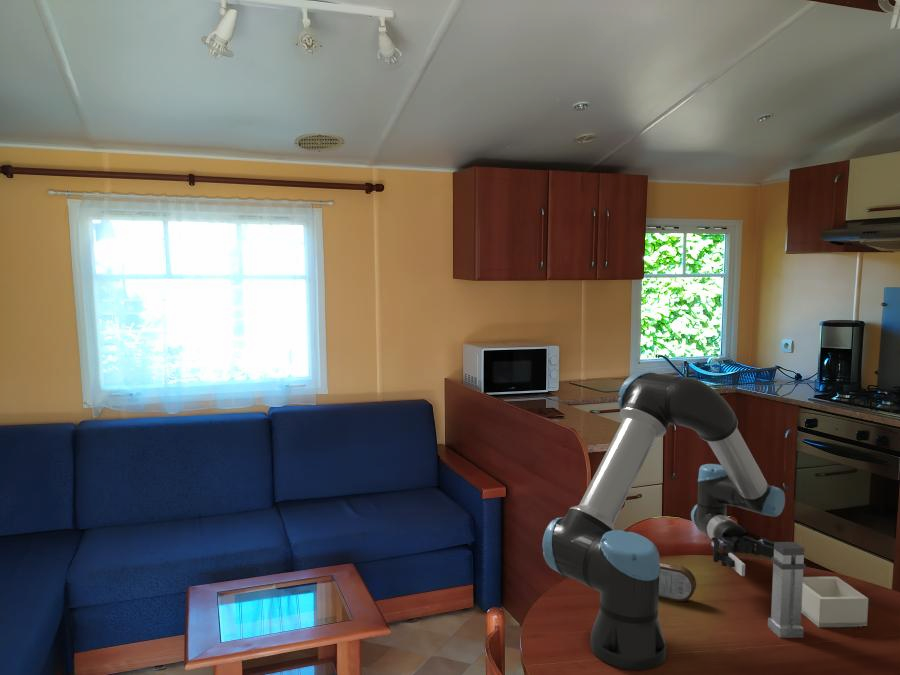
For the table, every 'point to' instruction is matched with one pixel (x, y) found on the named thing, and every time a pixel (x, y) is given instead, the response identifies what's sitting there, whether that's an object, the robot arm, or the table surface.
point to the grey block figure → (787, 590)
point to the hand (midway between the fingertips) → (772, 569)
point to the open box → (833, 603)
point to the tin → (675, 582)
